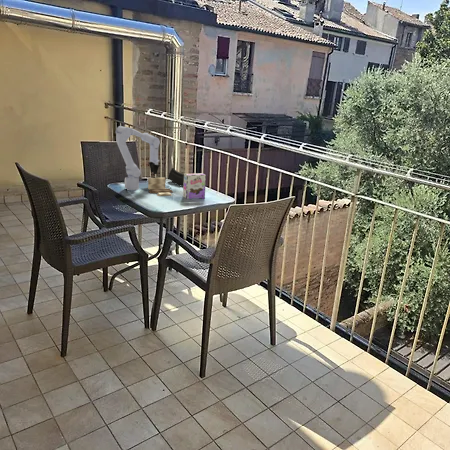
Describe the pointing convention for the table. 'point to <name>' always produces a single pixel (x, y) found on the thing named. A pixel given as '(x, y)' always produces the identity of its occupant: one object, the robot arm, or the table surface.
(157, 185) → the wooden block
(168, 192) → the offcut top
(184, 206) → the table surface
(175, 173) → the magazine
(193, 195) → the candy box
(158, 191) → the frame
